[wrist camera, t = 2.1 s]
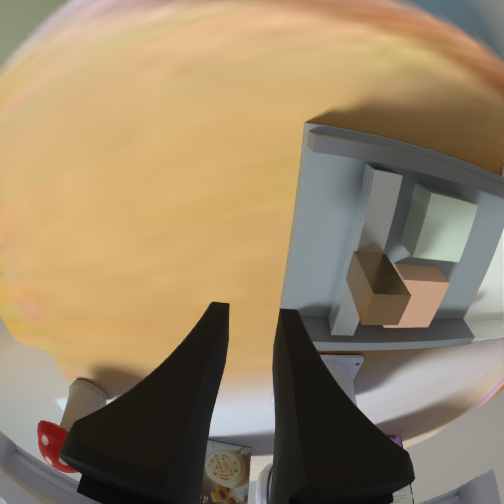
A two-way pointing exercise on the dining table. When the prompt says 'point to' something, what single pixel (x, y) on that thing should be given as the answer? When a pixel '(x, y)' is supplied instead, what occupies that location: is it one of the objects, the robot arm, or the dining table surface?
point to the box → (489, 300)
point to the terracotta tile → (421, 294)
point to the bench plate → (341, 222)
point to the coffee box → (226, 474)
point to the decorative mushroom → (69, 421)
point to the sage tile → (438, 224)
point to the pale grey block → (370, 260)
